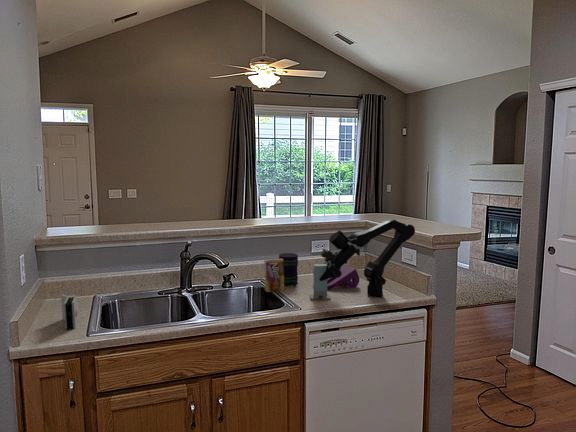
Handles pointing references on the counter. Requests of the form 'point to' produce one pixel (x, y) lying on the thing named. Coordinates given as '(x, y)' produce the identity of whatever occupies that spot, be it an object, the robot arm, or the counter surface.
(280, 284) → the candy box
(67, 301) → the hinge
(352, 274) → the mounting bracket
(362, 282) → the counter surface
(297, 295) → the counter surface
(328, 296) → the brown base with posts
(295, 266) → the storage jar
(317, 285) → the door
